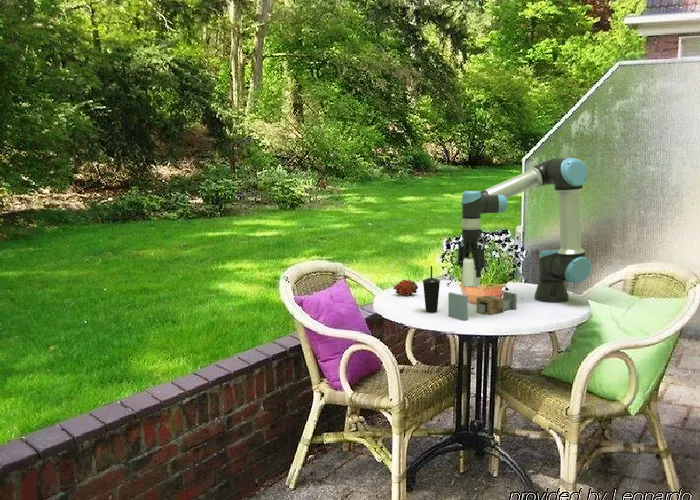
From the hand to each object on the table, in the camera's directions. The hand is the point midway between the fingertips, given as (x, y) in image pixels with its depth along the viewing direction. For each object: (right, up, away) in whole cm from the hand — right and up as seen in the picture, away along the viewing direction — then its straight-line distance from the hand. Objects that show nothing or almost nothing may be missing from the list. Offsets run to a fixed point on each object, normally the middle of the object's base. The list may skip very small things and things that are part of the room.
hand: (470, 283), depth 292 cm
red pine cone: (-23, -8, +47) cm, 53 cm away
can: (0, -1, 0) cm, 1 cm away
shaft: (+13, -12, +10) cm, 20 cm away
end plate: (-6, -14, -2) cm, 16 cm away
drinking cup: (-15, -13, +11) cm, 23 cm away
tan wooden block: (+10, -13, +8) cm, 18 cm away
